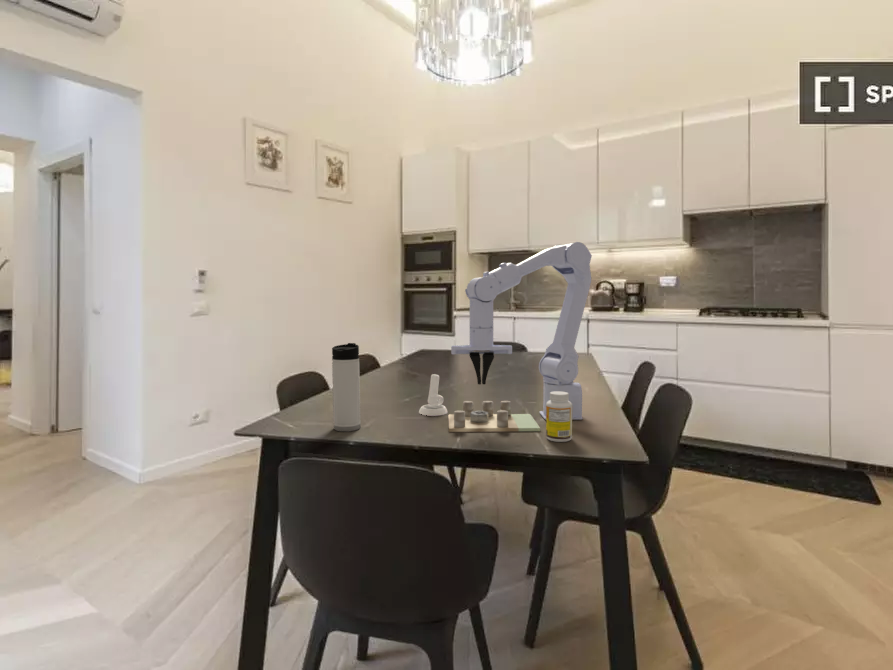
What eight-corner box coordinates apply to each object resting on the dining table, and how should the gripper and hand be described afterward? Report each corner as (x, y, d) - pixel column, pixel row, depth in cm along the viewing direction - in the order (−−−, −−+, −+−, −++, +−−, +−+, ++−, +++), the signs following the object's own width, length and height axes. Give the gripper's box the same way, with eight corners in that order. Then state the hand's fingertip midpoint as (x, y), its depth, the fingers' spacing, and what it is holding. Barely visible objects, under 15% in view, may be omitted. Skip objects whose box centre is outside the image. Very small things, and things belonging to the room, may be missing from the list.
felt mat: (530, 416, 135) (530, 414, 135) (540, 431, 121) (540, 428, 121) (510, 417, 135) (510, 414, 135) (518, 431, 121) (518, 428, 121)
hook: (445, 387, 150) (452, 376, 144) (442, 426, 143) (450, 417, 138) (419, 382, 148) (425, 371, 142) (416, 422, 142) (422, 412, 136)
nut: (485, 418, 131) (485, 410, 131) (491, 422, 127) (491, 413, 127) (467, 419, 130) (467, 411, 129) (473, 423, 126) (473, 414, 126)
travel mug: (365, 425, 127) (364, 343, 126) (352, 432, 121) (350, 346, 119) (343, 423, 129) (341, 342, 128) (328, 430, 123) (326, 345, 122)
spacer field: (510, 417, 135) (510, 400, 135) (518, 431, 121) (518, 412, 121) (448, 417, 135) (448, 400, 135) (448, 431, 121) (448, 413, 121)
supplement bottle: (553, 434, 119) (554, 389, 118) (576, 438, 115) (577, 392, 114) (541, 439, 115) (541, 393, 114) (564, 444, 111) (564, 396, 110)
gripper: (509, 326, 131) (509, 380, 132) (450, 326, 130) (451, 381, 132) (513, 328, 123) (513, 385, 125) (451, 328, 123) (451, 386, 125)
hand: (481, 383), depth 128 cm, fingers closed
